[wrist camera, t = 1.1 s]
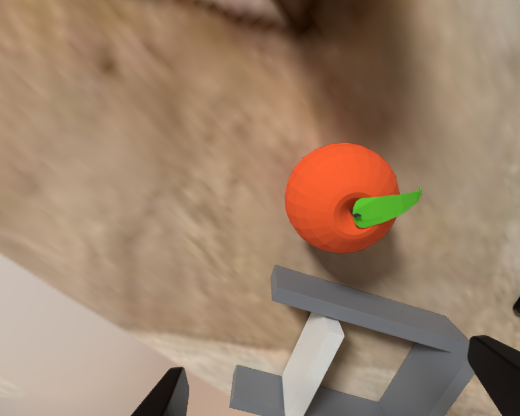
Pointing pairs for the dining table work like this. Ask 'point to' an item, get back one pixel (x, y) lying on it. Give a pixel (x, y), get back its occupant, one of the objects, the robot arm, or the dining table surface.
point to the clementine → (344, 198)
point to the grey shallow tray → (376, 318)
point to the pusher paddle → (310, 362)
